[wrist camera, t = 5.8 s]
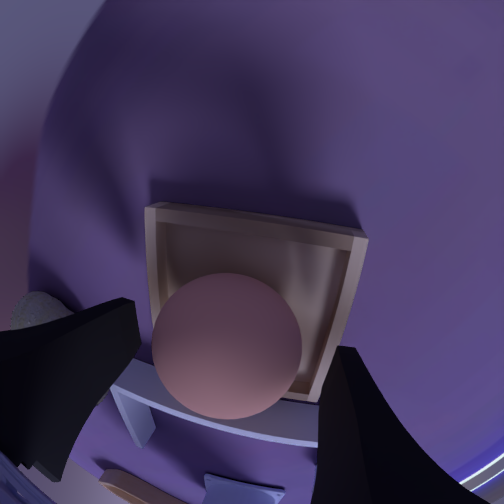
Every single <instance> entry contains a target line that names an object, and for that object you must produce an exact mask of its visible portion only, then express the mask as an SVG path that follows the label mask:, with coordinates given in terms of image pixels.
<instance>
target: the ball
mask: <svg viewBox="0 0 504 504" xmlns="http://www.w3.org/2000/svg"><path fill="white" fill-rule="evenodd" d="M151 347H152V356H153V362H154V366H155V368H156V371H157V374H158V376H159V378H160V380H161V381H162V383H163V385H164V386H165V388H166V389H167V390H168V392H169V393H170V394H171V395H172V396H173V397H174V398H175V399H176V400H177V401H179V402H180V403H181V404H182V405H184V406H185V407H187V408H188V409H190V410H192V411H194V412H196V413H198V414H201V415H204V416H207V417H211V418H217V419H239V418H245V417H249V416H252V415H255V414H257V413H260V412H262V411H264V410H266V409H267V408H269V407H270V406H272V405H273V404H275V403H276V402H277V401H278V400H279V399H280V398H281V397H282V396H283V395H284V394H285V393H286V392H287V390H288V389H289V388H290V386H291V385H292V383H293V381H294V379H295V377H296V375H297V372H298V370H299V367H300V362H301V356H302V338H301V332H300V328H299V325H298V322H297V319H296V317H295V315H294V313H293V312H292V310H291V308H290V307H289V305H288V304H287V302H286V301H285V300H284V299H283V298H282V297H281V296H280V295H279V294H278V293H277V292H276V291H275V290H273V289H272V288H271V287H269V286H268V285H266V284H265V283H263V282H261V281H259V280H257V279H254V278H252V277H249V276H245V275H241V274H234V273H217V274H210V275H206V276H203V277H199V278H197V279H195V280H193V281H191V282H189V283H187V284H185V285H184V286H182V287H181V288H179V289H178V290H177V291H176V292H175V293H174V294H173V295H172V296H171V297H170V298H169V299H168V300H167V302H166V303H165V304H164V306H163V307H162V309H161V311H160V313H159V315H158V317H157V319H156V321H155V325H154V329H153V333H152V346H151Z"/></svg>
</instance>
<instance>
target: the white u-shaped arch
mask: <svg viewBox="0 0 504 504" xmlns="http://www.w3.org/2000/svg"><path fill="white" fill-rule="evenodd" d="M110 390H111V393H112V395H113V398H114V400H115V402H116V405H117V407H118V409H119V412H120V414H121V416H122V418H123V420H124V422H125V424H126V427H127V429H128V431H129V433H130V435H131V437H132V439H133V440H134V442H135V444H136V446H137V447H139V448H142V449H143V448H144V447H145V445H146V444H147V442H148V440H149V439H150V437H151V435H152V434H153V432H154V430H155V429H156V426H155V423H154V420H153V417H152V414H151V411H150V408H149V406H151V407H153V408H156V409H159V410H161V411H164V412H166V413H169V414H172V415H174V416H177V417H180V418H183V419H186V420H189V421H192V422H195V423H198V424H201V425H205V426H208V427H212V428H215V429H219V430H222V431H226V432H230V433H234V434H238V435H242V436H247V437H251V438H256V439H261V440H266V441H272V442H278V443H284V444H290V445H298V446H306V447H315V448H318V412H319V405H311V404H303V403H297V402H290V401H284V400H278V401H277V402H276V403H275V404H273V405H272V406H270V407H269V408H267V409H266V410H264V411H262V412H260V413H257V414H255V415H252V416H249V417H245V418H239V419H217V418H211V417H207V416H204V415H201V414H198V413H196V412H194V411H192V410H190V409H188V408H187V407H185V406H184V405H182V404H181V403H180V402H179V401H177V400H176V399H175V398H174V397H173V396H172V395H171V394H170V393H169V392H168V390H167V389H166V388H165V386H164V385H163V383H162V381H161V380H160V378H159V376H158V374H157V371H156V368H155V366H153V365H150V364H147V363H145V362H142V361H139V360H137V359H134V358H133V359H132V360H131V362H130V364H129V365H128V366H127V367H126V369H125V370H124V371H123V372H122V374H121V375H120V376H119V377H118V379H117V380H116V381H115V382H114V383H113V385H112V386H111V387H110ZM316 470H317V465H316V466H315V475H314V482H313V490H314V485H315V479H316ZM313 490H312V492H313Z"/></svg>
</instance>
